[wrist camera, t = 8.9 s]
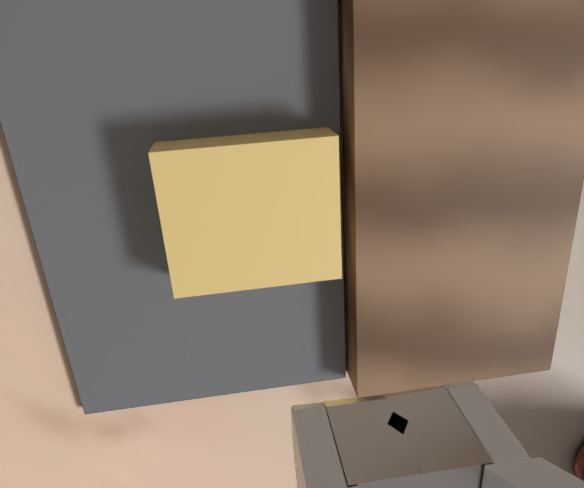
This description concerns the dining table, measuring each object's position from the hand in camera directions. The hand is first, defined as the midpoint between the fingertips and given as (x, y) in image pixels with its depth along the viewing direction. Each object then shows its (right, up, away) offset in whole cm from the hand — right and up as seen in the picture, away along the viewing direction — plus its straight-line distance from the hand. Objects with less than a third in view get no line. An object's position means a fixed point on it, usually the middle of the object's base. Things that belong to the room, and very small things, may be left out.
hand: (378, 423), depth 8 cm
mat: (-6, +5, +13) cm, 15 cm away
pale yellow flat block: (-3, +5, +13) cm, 14 cm away
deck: (+6, +6, +14) cm, 16 cm away
